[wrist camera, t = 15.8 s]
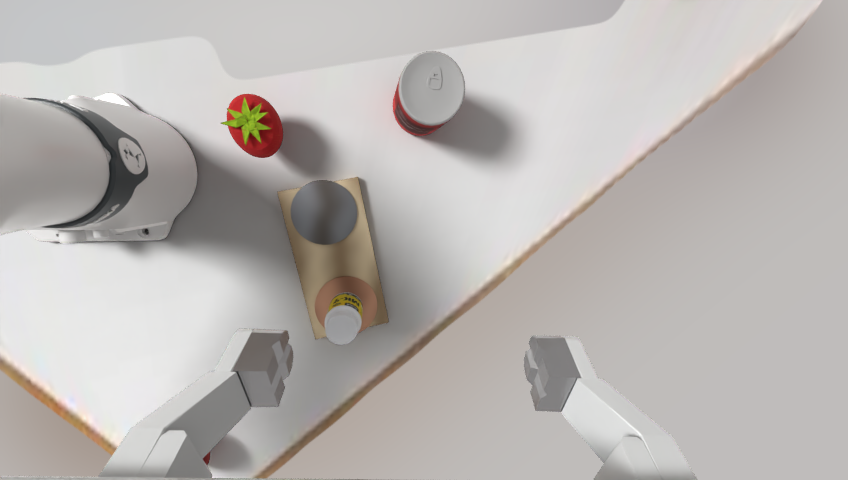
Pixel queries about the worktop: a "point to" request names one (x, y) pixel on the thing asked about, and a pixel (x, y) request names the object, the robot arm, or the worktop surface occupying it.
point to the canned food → (428, 93)
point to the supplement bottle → (343, 318)
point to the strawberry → (254, 125)
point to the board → (333, 249)
